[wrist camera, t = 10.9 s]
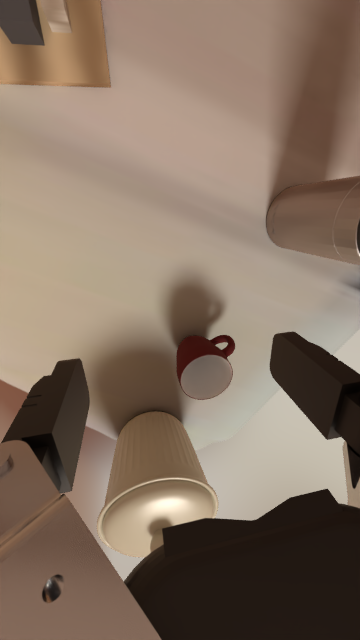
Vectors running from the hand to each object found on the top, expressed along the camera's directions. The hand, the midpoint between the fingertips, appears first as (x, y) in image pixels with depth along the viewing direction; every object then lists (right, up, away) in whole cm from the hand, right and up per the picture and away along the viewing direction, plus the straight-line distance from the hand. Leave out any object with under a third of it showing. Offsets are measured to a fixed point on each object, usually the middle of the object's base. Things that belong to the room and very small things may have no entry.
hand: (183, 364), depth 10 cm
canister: (-6, -21, +42) cm, 47 cm away
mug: (+3, -2, +35) cm, 35 cm away
